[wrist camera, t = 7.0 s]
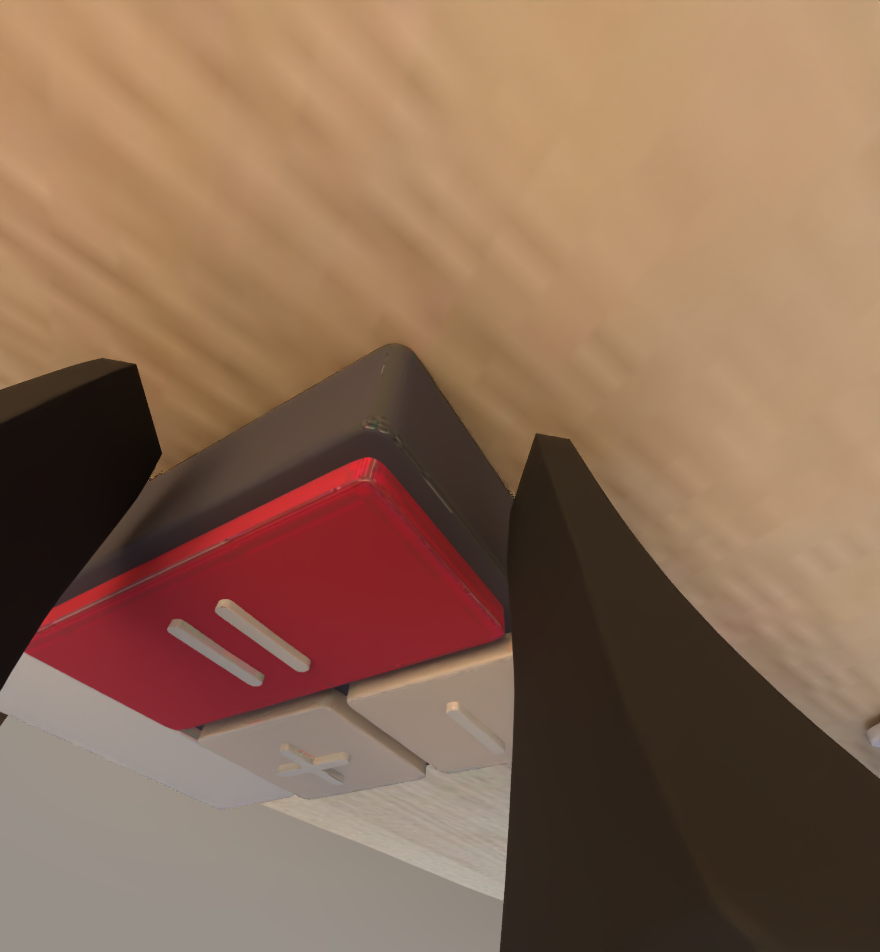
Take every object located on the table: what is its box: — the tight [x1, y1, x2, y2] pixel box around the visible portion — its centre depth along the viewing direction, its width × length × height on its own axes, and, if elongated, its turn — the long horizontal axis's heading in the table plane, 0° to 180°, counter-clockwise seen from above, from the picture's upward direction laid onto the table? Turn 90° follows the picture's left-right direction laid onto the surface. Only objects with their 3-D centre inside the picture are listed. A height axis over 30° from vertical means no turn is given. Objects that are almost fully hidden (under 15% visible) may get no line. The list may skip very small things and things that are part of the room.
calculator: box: [0, 344, 514, 809], centre depth 14 cm, size 11×4×15 cm
